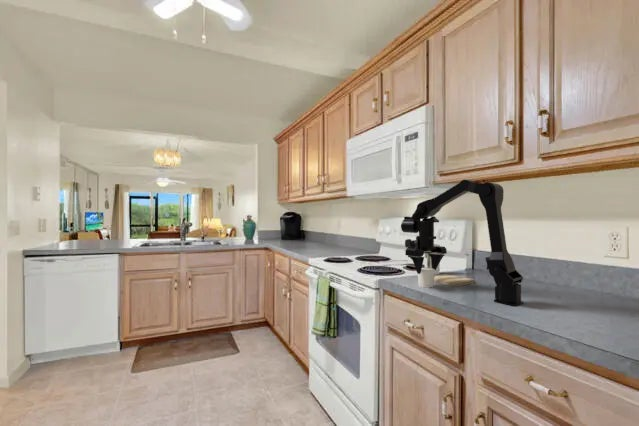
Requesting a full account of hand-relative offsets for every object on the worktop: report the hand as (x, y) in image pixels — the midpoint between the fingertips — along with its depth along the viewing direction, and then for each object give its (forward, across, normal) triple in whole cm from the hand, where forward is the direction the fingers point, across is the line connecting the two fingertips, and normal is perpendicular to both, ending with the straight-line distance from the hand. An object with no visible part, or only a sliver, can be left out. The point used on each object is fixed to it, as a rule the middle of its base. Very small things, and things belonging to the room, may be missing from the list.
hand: (426, 272), depth 126 cm
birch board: (+5, -16, 0) cm, 17 cm away
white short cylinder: (+6, 0, 0) cm, 6 cm away
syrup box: (+6, -25, -16) cm, 30 cm away
